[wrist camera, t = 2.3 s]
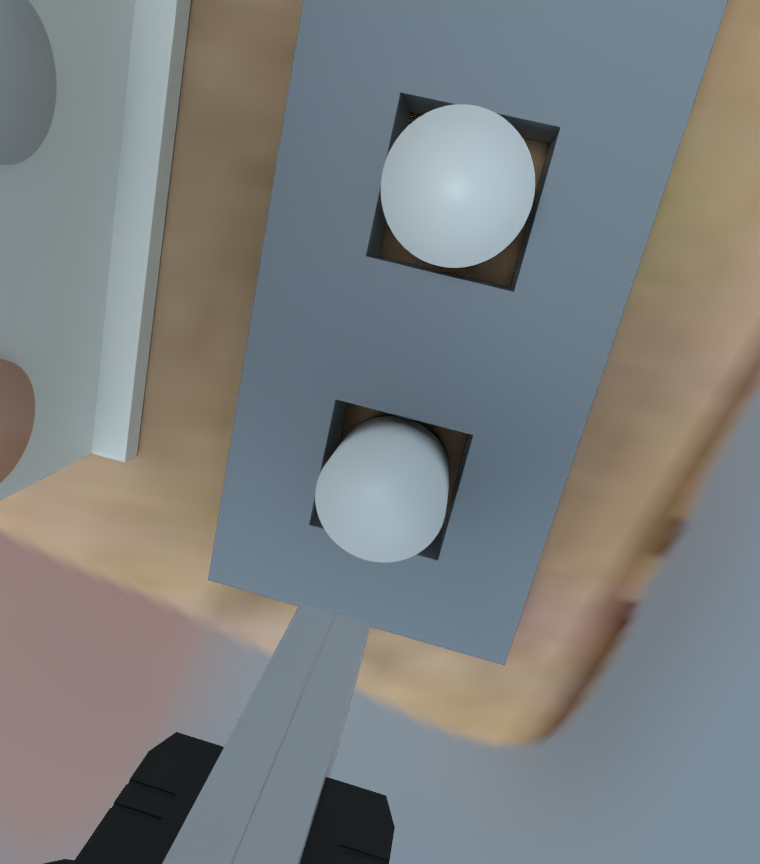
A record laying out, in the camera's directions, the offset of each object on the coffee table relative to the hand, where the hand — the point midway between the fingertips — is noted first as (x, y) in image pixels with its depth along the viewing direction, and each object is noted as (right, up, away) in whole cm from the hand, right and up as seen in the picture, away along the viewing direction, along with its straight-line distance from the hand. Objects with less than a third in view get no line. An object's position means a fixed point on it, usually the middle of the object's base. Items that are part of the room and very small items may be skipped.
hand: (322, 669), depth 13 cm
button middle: (+4, +13, +8) cm, 15 cm away
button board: (+4, +13, +10) cm, 17 cm away
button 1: (+2, +3, +11) cm, 12 cm away
